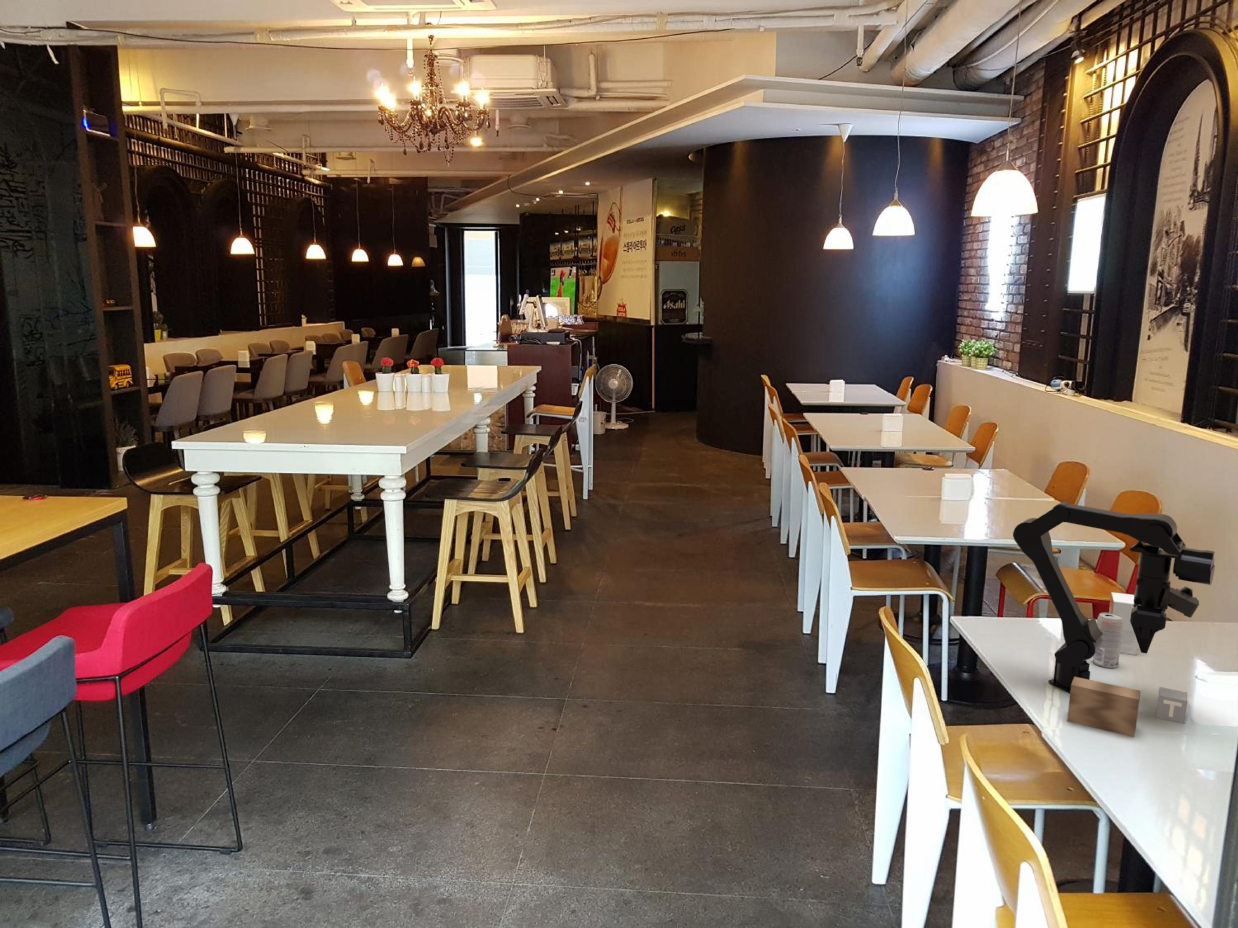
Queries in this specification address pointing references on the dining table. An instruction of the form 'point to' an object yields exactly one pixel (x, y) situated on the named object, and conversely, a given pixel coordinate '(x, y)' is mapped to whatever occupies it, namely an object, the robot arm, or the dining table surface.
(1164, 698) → the letter cube
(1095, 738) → the dining table surface
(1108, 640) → the energy drink
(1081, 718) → the brown wooden block
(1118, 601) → the small box
